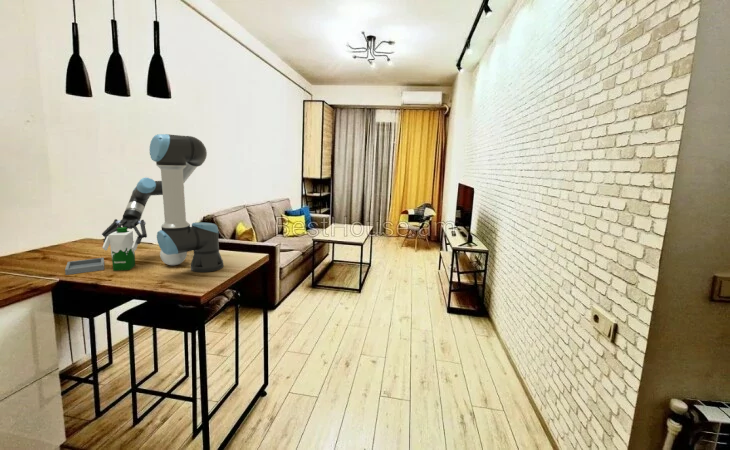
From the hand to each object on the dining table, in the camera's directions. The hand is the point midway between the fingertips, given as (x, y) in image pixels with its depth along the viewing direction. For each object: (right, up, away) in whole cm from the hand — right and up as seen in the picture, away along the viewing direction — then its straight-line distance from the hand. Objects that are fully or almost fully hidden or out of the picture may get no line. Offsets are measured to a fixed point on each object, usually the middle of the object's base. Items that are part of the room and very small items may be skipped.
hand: (119, 249), depth 162 cm
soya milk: (-1, -10, +4) cm, 11 cm away
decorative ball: (+20, -9, +12) cm, 25 cm away
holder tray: (-18, -10, +3) cm, 21 cm away
